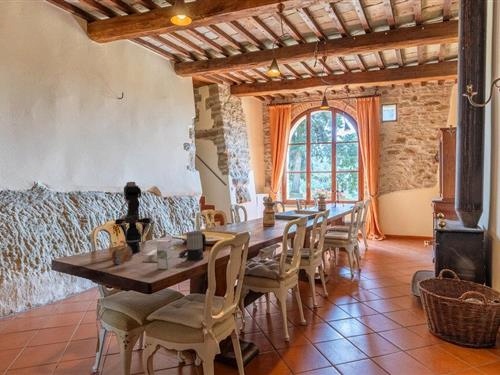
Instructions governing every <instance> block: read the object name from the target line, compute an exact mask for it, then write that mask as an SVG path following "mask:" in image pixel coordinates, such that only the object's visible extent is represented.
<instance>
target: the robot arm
mask: <svg viewBox="0 0 500 375" xmlns="http://www.w3.org/2000/svg"><path fill="white" fill-rule="evenodd" d="M123 197H124V199H125V201H126V202H127V211H126V215H125V217H124V218H117V219H115V221H114V224H115V225H116V226H118V227H120V228H121V230H122V232H123V234H124V237H125V244H127V245H126V246H130V247H131V248H132V251H133V254H137V253H140V252H141V246H140V243H141V242H142V237H144V235H145V232H146V229H147V226H148V225H150V224H151V223H152V222H153V219H152V217H148V216H147V217H143V218H140V209H139V208H140V201H139V199H141V197H142V190H141V187H139V185H136V182H135V181H127V182H126V185H125V186H124V187H123ZM137 223H142V224H141V226H142V227H141V228H142V229H141V232H140V229H139V228H138V226H137ZM127 224H128V228H127Z"/></svg>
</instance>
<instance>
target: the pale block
mask: <svg viewBox="0 0 500 375" xmlns="http://www.w3.org/2000/svg"><path fill="white" fill-rule="evenodd" d="M175 249H176V248H175V247H172V256H173V255H174V254H176V250H175ZM143 262H148V263H149V262H151V263H152V262H153V263H154V262H157V248H155V249H153V250H151V251H149V252H147V253H144V254H143Z"/></svg>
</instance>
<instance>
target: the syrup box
mask: <svg viewBox="0 0 500 375" xmlns="http://www.w3.org/2000/svg"><path fill="white" fill-rule="evenodd" d="M155 242H156V249H157V270H170V269H171V268H173V255H172V248H173V247H172V245H173V244H172V238H160V239H157V240H156V241H155Z"/></svg>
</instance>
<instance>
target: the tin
mask: <svg viewBox="0 0 500 375" xmlns="http://www.w3.org/2000/svg"><path fill="white" fill-rule="evenodd" d="M133 256H134V253H133V251H132V248H131V247H130V246H127V245H126V246H122V247H120V248H116V249H114V250H113V251H112V253H111V259H112V264H114V265H117V264H118V265H119V266H120V264H121V265H123V264H125V262H126V263H128V262H130V261H131V260H132V258H133Z"/></svg>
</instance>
